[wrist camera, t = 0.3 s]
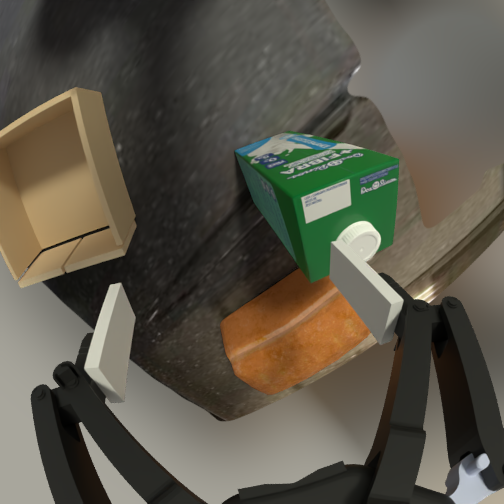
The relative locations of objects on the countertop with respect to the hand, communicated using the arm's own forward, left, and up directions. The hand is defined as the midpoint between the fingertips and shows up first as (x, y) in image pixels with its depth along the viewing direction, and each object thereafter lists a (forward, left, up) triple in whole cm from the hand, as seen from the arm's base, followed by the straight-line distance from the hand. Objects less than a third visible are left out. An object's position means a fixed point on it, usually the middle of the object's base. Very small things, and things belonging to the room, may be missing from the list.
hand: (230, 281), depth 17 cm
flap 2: (+4, -17, -27) cm, 32 cm away
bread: (+28, +9, -28) cm, 40 cm away
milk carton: (0, +10, -27) cm, 29 cm away
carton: (-8, -22, -27) cm, 36 cm away
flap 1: (+4, -27, -27) cm, 38 cm away
